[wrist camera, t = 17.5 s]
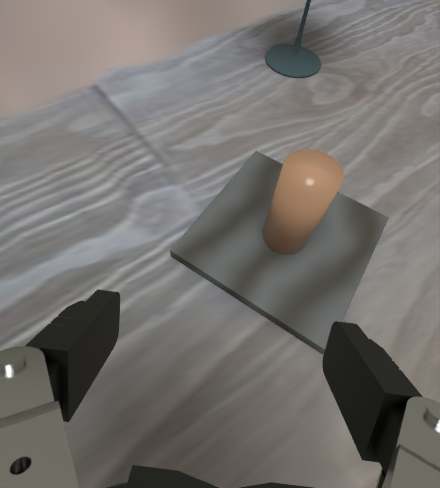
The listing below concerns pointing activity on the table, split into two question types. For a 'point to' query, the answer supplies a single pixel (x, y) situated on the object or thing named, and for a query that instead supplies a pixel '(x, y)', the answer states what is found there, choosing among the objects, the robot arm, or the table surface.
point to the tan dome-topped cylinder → (301, 199)
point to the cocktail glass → (294, 56)
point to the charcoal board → (281, 265)
